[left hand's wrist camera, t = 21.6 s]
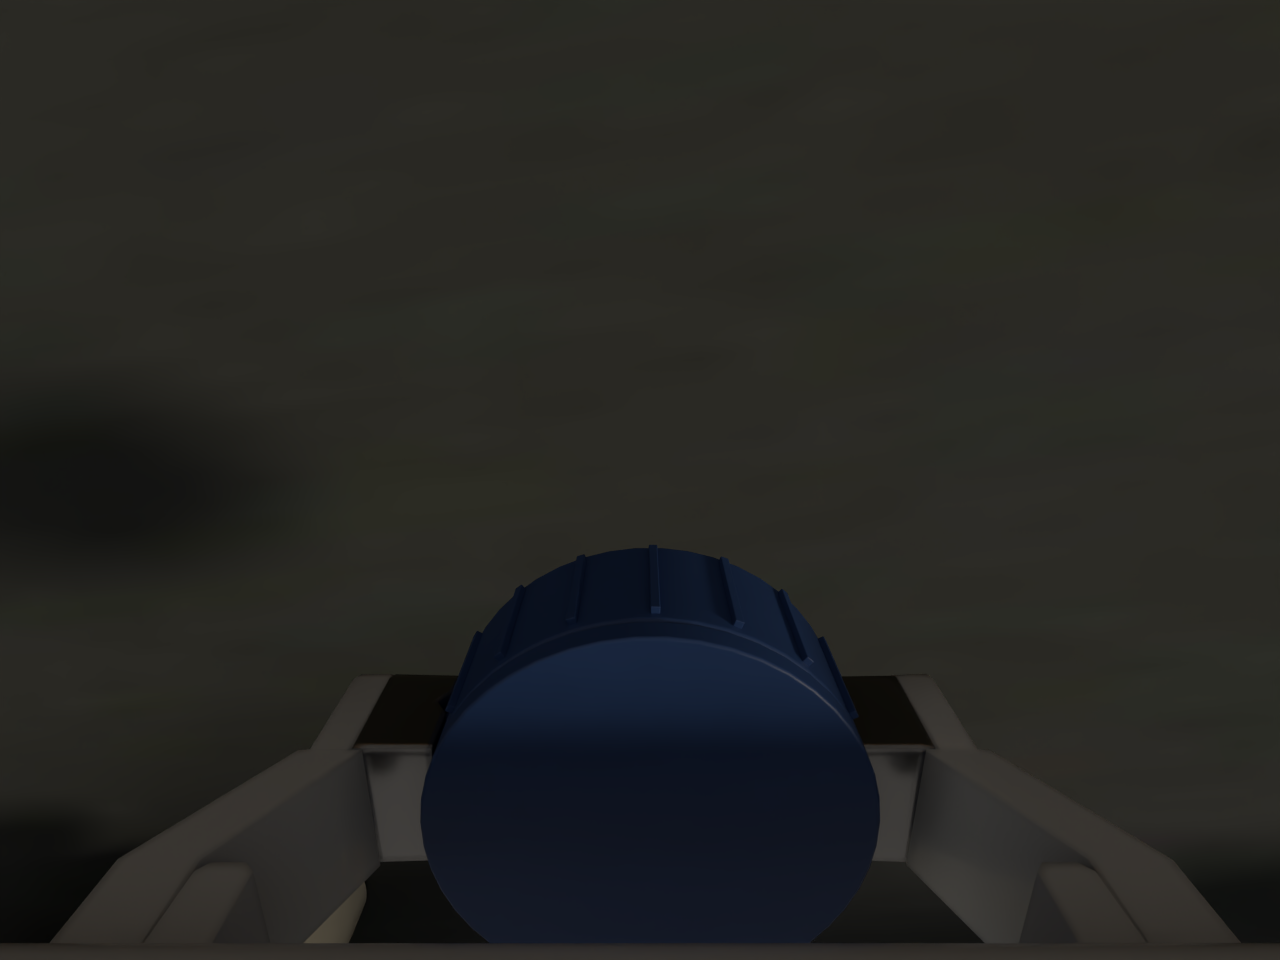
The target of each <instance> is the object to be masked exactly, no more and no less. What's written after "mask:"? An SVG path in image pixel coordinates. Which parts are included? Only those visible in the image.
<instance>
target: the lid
mask: <svg viewBox="0 0 1280 960" xmlns="http://www.w3.org/2000/svg"><path fill="white" fill-rule="evenodd" d="M445 711H446V712H449V713H448V714H446V723H445V726H444V728H443V731H442V733H441V736H440V739H439V741H438V744H437V747H436V749H435V752H434V755H433V757H432V760H431V762H430V765H429V768H428V770H427V773H426V776H425V781H424V786H423V791H422V796H421V813H420V824H421V831H422V838H423V845H424V849H425V852H426V856H427V859H428V862H429V865H430V868H431V871H432V873H433V875H434V877H435V879H436V881H437V883H438V885H439V887H440V889H441V891H442V892H443V894H444V895H445V896H446V898H447V899H448V901H449V902H450V904H451V905H452V907H453V908H454V909H455V911H456V912H457V913H458V914H459V915H460V916H461V917H462V918H463V919H464V920H465V921H466V923H467V924H468V925H469V926H470V927H471V928H472V929H473V930H475V931H476V932H477V933H478V934H479V935H481V936H482V937H483V938H484V939H485V940H486V941H488V942H489V943H810V942H811V941H812V940H814V939H815V938H816V937H817V936H818V935H819V934H821V933H822V932H823V931H824V930H825V929H826V928H828V927H829V926H830V925H831V924H832V923H833V921H834V920H835V919H836V918H837V917H838V916H839V915H840V914H841V913H842V912H843V911H844V909H845V908H846V907H847V906H848V904H849V903H850V901H851V900H852V898H853V897H854V895H855V894H856V893H857V891H858V890H859V888H860V886H861V884H862V882H863V880H864V878H865V876H866V874H867V872H868V870H869V868H870V865H871V862H872V859H873V856H874V852H875V849H876V846H877V840H878V833H879V826H880V796H879V791H878V786H877V781H876V776H875V772H874V770H873V767H872V765H871V762H870V759H869V757H868V754H867V751H866V749H865V747H864V744H863V742H862V740H861V737H860V735H859V733H858V730H857V728H856V725H855V723H854V721H853V719H855V718H858V717H859V716H858V713H857V711H856V709H855V706H854V704H853V702H852V699H851V697H850V695H849V693H848V690H847V688H846V686H845V683H844V681H843V679H842V677H841V674H840V672H839V670H838V667H837V665H836V663H835V661H834V658H833V656H832V654H831V651H830V649H829V647H828V644H827V642H826V640H825V638H824V637H821V638H817V636H816V634H815V633H814V631H813V629H812V628H811V626H810V625H809V623H808V622H807V621H806V620H805V618H804V617H803V616H802V615H801V613H800V612H799V611H798V610H797V608H796V607H795V606H793V605H792V604H791V602H790V599H789V596H788V594H787V593H786V592H785V591H784V590H783V589H781V590H780V591H779V592H778V591H777V590H775V589H774V588H773V587H771V586H770V585H768V584H767V583H766V582H764V581H763V580H761V579H760V578H758V577H756V576H754V575H752V574H751V573H749V572H747V571H745V570H743V569H741V568H739V567H737V566H734V565H732V564H729V560H728V559H727V558H724V557H720V560H718V559H716V558H713V557H709V556H705V555H701V554H697V553H693V552H688V551H681V550H672V549H664V548H657V545H649V548H634V549H625V550H617V551H609V552H605V553H601V554H597V555H593V556H589V557H585V555H584V554H583V555H580V556H577V559H576V561H574V562H571V563H569V564H566V565H563V566H561V567H559V568H557V569H555V570H553V571H551V572H549V573H547V574H545V575H544V576H542V577H540V578H538V579H536V580H535V581H533V582H532V583H531V584H529V585H528V586H526V587H525V588H524V587H523V586H522V585H520V586H519V587H518V588H516V590H515V593H514V596H513V597H512V598H511V599H510V600H509V601H508V602H507V603H506V604H505V605H504V606H503V607H502V608H501V609H500V610H499V611H498V612H497V614H496V615H495V616H494V617H493V619H492V620H491V621H490V622H489V624H488V625H487V626H486V628H485V629H484V631H483V633H481V632H479V631H477V632H476V634H475V635H474V637H473V640H472V642H471V645H470V647H469V650H468V653H467V655H466V658H465V660H464V663H463V665H462V668H461V670H460V673H459V676H458V678H457V681H456V683H455V686H454V688H453V691H452V693H451V696H450V699H449V701H448V704H447V706H446V709H445Z"/></svg>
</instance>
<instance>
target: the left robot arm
mask: <svg viewBox="0 0 1280 960" xmlns="http://www.w3.org/2000/svg"><path fill="white" fill-rule="evenodd" d="M841 677H842V679H843V681H844V683H845V686H846V688H847V690H848V693H849V695H850V697H851V699H852V702H853V704H854V706H855V709H856V711H857V713H858V716H859V717H858V718H855V719H853V721H854V723H855V725H856V728H857V730H858V733H859V735H860V737H861V740H862V742H863V744H864V747H865V749H866V751H867V754H868V757H869V759H870V762H871V765H872V767H873V770H874V772H875V776H876V781H877V786H878V791H879V796H880V826H879V833H878V840H877V846H876V849H875V852H874V856H873V859H872V861H898V862H907V864H906V865H907V866H908V867H909V868H910V869H911V870H912V871H913V872H914V873H915V874H916V875H917V876H918V877H919V878H920V879H921V880H922V881H923V882H924V883H925V884H926V885H927V886H928V887H929V888H930V889H931V890H932V891H933V892H934V893H935V894H936V895H937V896H938V897H939V898H940V899H941V900H942V901H943V902H944V903H945V904H946V905H947V906H948V907H949V908H950V909H951V910H952V911H953V912H954V913H955V914H956V915H957V916H958V917H959V918H960V919H961V920H962V921H963V922H964V923H965V924H966V925H967V926H968V927H969V928H970V929H971V930H972V931H973V932H974V933H975V934H976V935H977V936H978V937H979V938H980V939H981V940H982V941H983V942H984V943H304V942H305V941H306V940H307V939H308V938H309V937H310V936H311V935H312V934H313V933H314V932H315V931H316V930H317V929H318V928H319V927H320V926H321V925H322V924H323V923H324V922H325V921H326V920H327V919H328V918H329V917H330V916H331V915H332V914H333V913H334V912H335V911H336V910H337V909H338V908H339V907H340V906H341V905H342V904H343V903H344V902H345V901H346V900H347V899H348V898H349V897H350V896H351V895H352V894H353V893H354V892H355V891H356V890H357V889H358V888H359V887H360V886H361V885H362V884H363V883H364V882H365V881H366V880H367V879H368V878H369V877H370V876H371V875H372V874H373V873H374V872H375V871H376V870H377V869H378V868H379V867H380V862H389V861H423V860H428V859H427V856H426V852H425V849H424V845H423V838H422V831H421V824H420V813H421V796H422V791H423V786H424V781H425V776H426V773H427V770H428V768H429V765H430V762H431V760H432V757H433V755H434V752H435V749H436V747H437V744H438V741H439V739H440V736H441V733H442V731H443V728H444V726H445V723H446V714H448V713H449V712H446V711H445V709H446V706H447V704H448V701H449V699H450V696H451V693H452V691H453V688H454V686H455V683H456V681H457V678H458V676H449V675H402V674H396V675H392V674H361V675H359V676H357V677H355V678H354V679H353V680H352V682H351V683H350V685H349V687H348V688H347V690H346V691H345V693H344V695H343V696H342V698H341V699H340V701H339V703H338V704H337V706H336V708H335V709H334V711H333V712H332V714H331V716H330V717H329V719H328V720H327V722H326V724H325V725H324V727H323V728H322V730H321V732H320V733H319V735H318V736H317V738H316V740H315V741H314V743H313V744H312V746H311V748H310V749H309V750H297V751H296V752H294V753H292V754H291V755H289V756H287V757H286V758H284V759H282V760H281V761H279V762H277V763H276V764H274V765H272V766H271V767H269V768H267V769H266V770H264V771H262V772H261V773H259V774H258V775H256V776H254V777H253V778H251V779H249V780H248V781H246V782H244V783H243V784H241V785H239V786H238V787H236V788H234V789H233V790H231V791H229V792H228V793H226V794H224V795H223V796H221V797H219V798H218V799H216V800H214V801H213V802H211V803H210V804H208V805H206V806H205V807H203V808H201V809H200V810H198V811H196V812H195V813H193V814H191V815H190V816H188V817H186V818H185V819H183V820H181V821H180V822H178V823H176V824H175V825H173V826H171V827H170V828H168V829H166V830H165V831H163V832H162V833H160V834H158V835H157V836H155V837H153V838H152V839H150V840H148V841H147V842H145V843H143V844H142V845H140V846H138V847H137V848H135V849H133V850H132V851H130V852H128V853H127V854H125V855H123V856H122V857H120V858H118V859H117V861H116V862H115V863H114V864H113V865H112V867H111V868H110V869H109V870H108V872H107V873H106V874H105V875H104V877H103V878H102V879H101V880H100V881H99V883H98V884H97V885H96V886H95V888H94V889H93V890H92V891H91V892H90V894H89V895H88V896H87V897H86V899H85V900H84V901H83V902H82V904H81V905H80V906H79V907H78V908H77V910H76V911H75V912H74V913H73V915H72V916H71V917H70V918H69V920H68V921H67V922H66V923H65V924H64V926H63V927H62V928H61V929H60V931H59V932H58V933H57V934H56V936H55V937H54V938H53V939H52V940H51V942H50V943H0V960H1280V943H1241V942H1240V941H1239V940H1238V939H1237V937H1236V936H1235V935H1234V934H1233V932H1232V931H1231V930H1230V929H1229V928H1228V926H1227V925H1226V924H1225V923H1224V922H1223V920H1222V919H1221V918H1220V917H1219V915H1218V914H1217V913H1216V912H1215V911H1214V909H1213V908H1212V907H1211V906H1210V904H1209V903H1208V902H1207V901H1206V900H1205V898H1204V897H1203V896H1202V895H1201V894H1200V892H1199V891H1198V890H1197V889H1196V887H1195V886H1194V885H1193V884H1192V883H1191V881H1190V880H1189V879H1188V878H1187V877H1186V875H1185V874H1184V873H1183V872H1182V870H1181V869H1180V868H1179V867H1178V866H1177V864H1176V863H1175V862H1174V861H1173V860H1172V859H1170V858H1169V857H1167V856H1165V855H1164V854H1162V853H1160V852H1159V851H1157V850H1155V849H1154V848H1152V847H1150V846H1149V845H1147V844H1145V843H1144V842H1142V841H1140V840H1139V839H1137V838H1135V837H1134V836H1132V835H1130V834H1129V833H1127V832H1125V831H1124V830H1122V829H1120V828H1119V827H1117V826H1115V825H1114V824H1112V823H1110V822H1109V821H1107V820H1105V819H1104V818H1102V817H1100V816H1099V815H1097V814H1095V813H1094V812H1092V811H1090V810H1089V809H1087V808H1085V807H1084V806H1082V805H1080V804H1079V803H1077V802H1075V801H1074V800H1072V799H1070V798H1069V797H1067V796H1065V795H1064V794H1062V793H1060V792H1059V791H1057V790H1055V789H1054V788H1052V787H1050V786H1049V785H1047V784H1045V783H1044V782H1042V781H1040V780H1039V779H1037V778H1035V777H1034V776H1032V775H1030V774H1029V773H1027V772H1025V771H1024V770H1022V769H1020V768H1019V767H1017V766H1015V765H1014V764H1012V763H1010V762H1009V761H1007V760H1005V759H1004V758H1002V757H1000V756H999V755H997V754H995V753H994V752H992V751H990V750H978V748H977V747H976V745H975V744H974V742H973V741H972V739H971V738H970V736H969V734H968V733H967V731H966V730H965V728H964V727H963V725H962V724H961V722H960V720H959V719H958V717H957V716H956V714H955V713H954V711H953V710H952V708H951V707H950V705H949V703H948V702H947V700H946V699H945V697H944V696H943V694H942V693H941V691H940V689H939V688H938V686H937V685H936V683H935V682H934V680H933V679H932V677H930V676H929V675H927V674H903V675H891V676H841Z"/></svg>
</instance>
